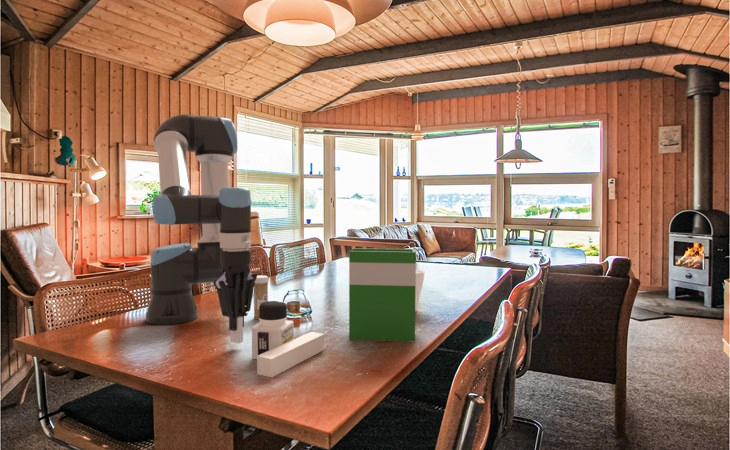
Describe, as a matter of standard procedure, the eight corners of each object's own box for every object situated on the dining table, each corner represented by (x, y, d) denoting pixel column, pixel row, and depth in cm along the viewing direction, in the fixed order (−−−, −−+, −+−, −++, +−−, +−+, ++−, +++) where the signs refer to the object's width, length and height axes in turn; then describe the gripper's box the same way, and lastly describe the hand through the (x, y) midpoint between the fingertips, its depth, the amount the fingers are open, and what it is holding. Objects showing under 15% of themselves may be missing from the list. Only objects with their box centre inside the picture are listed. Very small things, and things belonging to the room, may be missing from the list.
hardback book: (349, 339, 120) (349, 251, 119) (352, 331, 128) (352, 248, 126) (414, 341, 119) (415, 252, 117) (414, 333, 126) (415, 249, 125)
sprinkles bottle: (263, 320, 139) (263, 277, 138) (250, 319, 140) (250, 277, 139) (271, 317, 143) (270, 275, 142) (258, 315, 144) (258, 274, 144)
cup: (423, 307, 157) (423, 269, 156) (424, 314, 146) (424, 274, 145) (393, 306, 158) (393, 268, 157) (392, 313, 147) (392, 273, 146)
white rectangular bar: (257, 374, 96) (257, 355, 96) (311, 347, 114) (311, 331, 114) (271, 377, 95) (271, 359, 94) (324, 349, 112) (324, 334, 112)
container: (282, 362, 104) (281, 306, 103) (251, 359, 105) (250, 305, 105) (294, 351, 111) (294, 299, 110) (265, 348, 113) (264, 297, 112)
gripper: (227, 253, 104) (228, 352, 105) (264, 247, 115) (265, 337, 117) (204, 251, 107) (206, 346, 109) (243, 245, 119) (244, 332, 120)
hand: (236, 341), depth 113 cm, fingers closed
